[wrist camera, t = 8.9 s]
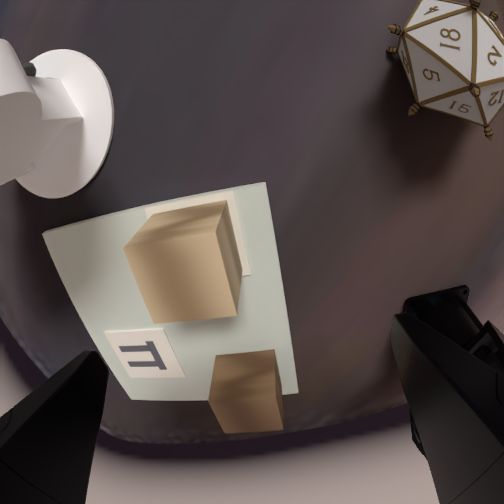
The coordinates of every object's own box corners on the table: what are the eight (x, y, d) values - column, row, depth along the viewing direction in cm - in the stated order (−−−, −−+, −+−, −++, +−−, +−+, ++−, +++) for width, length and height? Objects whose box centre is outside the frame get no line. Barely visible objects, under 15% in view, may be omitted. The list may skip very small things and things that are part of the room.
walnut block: (274, 349, 25) (275, 396, 20) (281, 385, 27) (283, 429, 23) (215, 355, 25) (208, 401, 21) (229, 390, 28) (224, 433, 23)
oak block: (226, 199, 19) (215, 231, 15) (242, 269, 21) (237, 315, 17) (152, 214, 20) (123, 247, 15) (173, 279, 22) (154, 323, 17)
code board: (265, 182, 19) (265, 185, 19) (298, 388, 28) (298, 394, 27) (45, 230, 21) (40, 235, 21) (132, 395, 30) (130, 400, 29)
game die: (385, 47, 18) (385, -61, 8) (488, 77, 15) (526, -15, 6) (375, 144, 17) (387, 23, 8) (496, 179, 15) (577, 98, 5)
